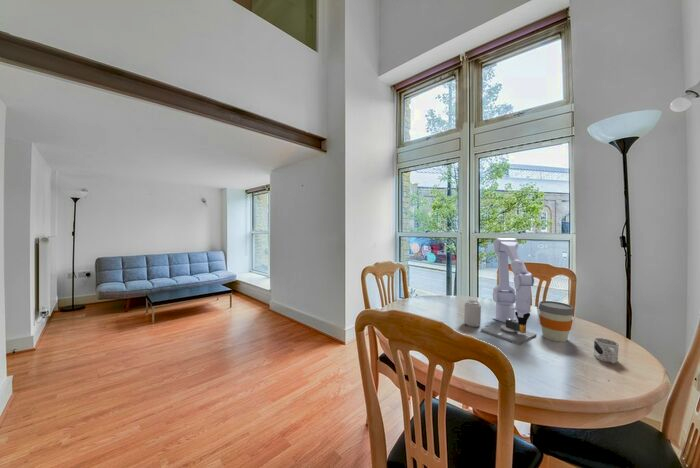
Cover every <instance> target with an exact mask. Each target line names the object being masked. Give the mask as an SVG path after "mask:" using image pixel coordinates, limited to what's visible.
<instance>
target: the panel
mask: <svg viewBox="0 0 700 468" xmlns="http://www.w3.org/2000/svg"><path fill="white" fill-rule="evenodd" d="M503 324H504V323H503V322H500V321H498V322H496V323H494V324H490V325H489V326H486V327H483V328H481V329H480V332H482V333H485V334H487V335H490V336H493V337H495V338H499V339H501V340H504V341H508V342H510V343H514V344H516V345H518V346H521V345H522V344H524V343H526V342H528V341H530V340H532V339H534V338H536V337H537V333H533V332H530V331H527V330H526V333H521V332H517V333H508V332H505V331H502V330H501V325H503Z"/></svg>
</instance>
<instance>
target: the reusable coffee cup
mask: <svg viewBox="0 0 700 468" xmlns="http://www.w3.org/2000/svg"><path fill="white" fill-rule="evenodd" d="M538 310H539V314H538V317H539V324H540V326H541V333H542V336H543V337H544V338H546V339H547V340H550V341H556V342H562V343H563V342H567V341H568V339H569V338H568V337H569V333H570V331H572V325H573V320H574V319H573V316H574V306H572V305H570V304H567V303H563V302H560V301H553V300H543V301H539V304H538Z"/></svg>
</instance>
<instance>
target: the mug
mask: <svg viewBox="0 0 700 468" xmlns="http://www.w3.org/2000/svg"><path fill="white" fill-rule="evenodd" d="M593 342H594V343H593V357H594V358H595V359H597V360H600V361H602V360H603V361H602V362H605V361H607V362H606V363H609V362H611V363H610V364H616V363H615V362H617V363H619V343H618V342H617V341H614V340H611V339H607V338H604V337H595V338H594V341H593Z"/></svg>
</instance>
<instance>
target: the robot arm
mask: <svg viewBox="0 0 700 468" xmlns="http://www.w3.org/2000/svg"><path fill="white" fill-rule="evenodd" d="M518 248H519V240H518V239H517V238H515V237H513V238H503V237H502V238H501V237H496V238H495V240H494V242H493V251H494V254H496V255H497V267H498V268H497V269H498V272H497V273H498V284H497V285H496V286H494V287H493V290H492V291H493V292H492V299H493V301H494V302H495V306H496V307H495V316H493V317H492V319H493V320H496V321H498V322H501V323H504V324H506V320H507V318H511V319H512V320H513V321H517V322H519V323H522V324H525V325H526V326H527V322H528V319H529V318H530V316H531V312H532V309H531V301H532V300H531V298H532V297H531V296H532V287H533V286H534V284H535V278H534V275H533V274H532V273H531V272H530V271H528V269H527V266H526V265H525V263H524V261H523V260H521V259H520V256H519V253H518ZM509 260H510V262H511V263H510V264H509ZM509 266H510V268H511V271H512V273H513V283H514V288H513V287H512V286H511V285H510V270H509V269H510V268H509ZM514 304H515V306H514ZM515 317H516V318H515Z"/></svg>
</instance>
